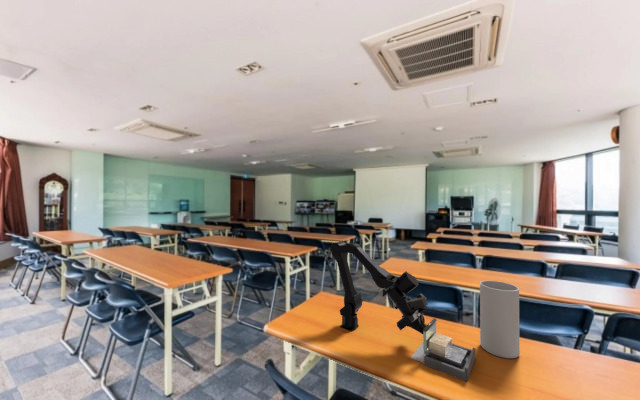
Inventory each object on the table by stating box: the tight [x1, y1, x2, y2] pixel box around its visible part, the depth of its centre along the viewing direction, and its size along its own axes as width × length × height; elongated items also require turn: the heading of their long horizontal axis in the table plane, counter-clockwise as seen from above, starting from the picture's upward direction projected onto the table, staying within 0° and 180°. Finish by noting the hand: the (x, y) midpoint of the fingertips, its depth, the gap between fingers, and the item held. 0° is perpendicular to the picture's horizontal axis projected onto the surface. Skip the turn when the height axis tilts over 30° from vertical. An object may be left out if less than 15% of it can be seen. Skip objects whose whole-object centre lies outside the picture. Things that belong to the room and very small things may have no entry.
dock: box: [410, 342, 476, 382], centre depth 93 cm, size 19×16×5 cm
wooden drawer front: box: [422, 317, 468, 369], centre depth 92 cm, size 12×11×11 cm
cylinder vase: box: [479, 280, 521, 359], centre depth 99 cm, size 12×12×25 cm
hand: (428, 335), depth 97 cm, fingers closed, pressing on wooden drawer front
